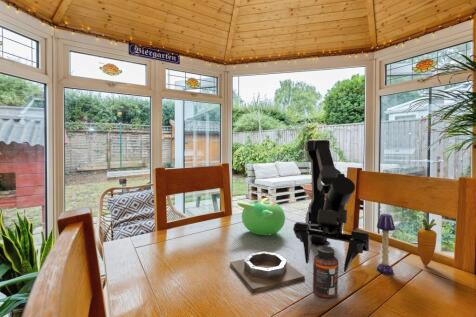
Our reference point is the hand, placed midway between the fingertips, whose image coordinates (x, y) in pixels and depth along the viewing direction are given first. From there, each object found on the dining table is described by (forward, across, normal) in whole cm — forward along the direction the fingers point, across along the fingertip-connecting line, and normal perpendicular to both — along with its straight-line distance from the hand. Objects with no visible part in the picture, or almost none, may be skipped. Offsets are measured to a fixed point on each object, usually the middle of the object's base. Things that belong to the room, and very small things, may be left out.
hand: (325, 266), depth 65 cm
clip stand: (+3, -17, +7) cm, 19 cm away
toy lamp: (-10, +13, +20) cm, 26 cm away
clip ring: (+3, -17, +7) cm, 19 cm away
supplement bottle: (+4, 0, +6) cm, 7 cm away
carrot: (-16, +24, +26) cm, 39 cm away
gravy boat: (-17, -31, +27) cm, 45 cm away
